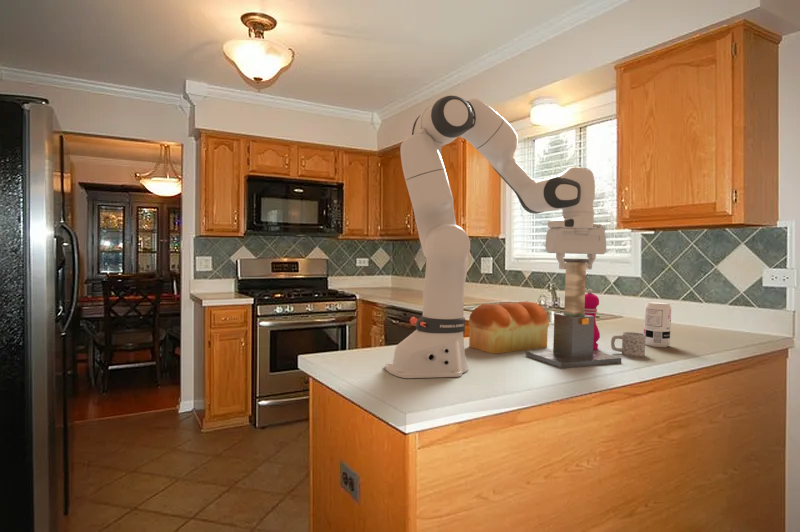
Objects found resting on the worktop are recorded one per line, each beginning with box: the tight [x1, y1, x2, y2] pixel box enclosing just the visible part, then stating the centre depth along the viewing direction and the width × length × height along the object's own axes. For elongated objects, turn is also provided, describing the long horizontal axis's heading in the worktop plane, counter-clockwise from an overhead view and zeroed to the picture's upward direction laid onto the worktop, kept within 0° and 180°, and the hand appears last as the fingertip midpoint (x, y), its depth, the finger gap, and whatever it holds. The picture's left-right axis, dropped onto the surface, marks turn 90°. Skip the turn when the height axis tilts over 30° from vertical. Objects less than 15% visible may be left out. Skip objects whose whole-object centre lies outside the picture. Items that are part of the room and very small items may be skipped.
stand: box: [525, 312, 622, 369], centre depth 148 cm, size 22×16×14 cm
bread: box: [467, 301, 550, 355], centre depth 165 cm, size 25×12×15 cm, turn 122°
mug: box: [610, 331, 646, 358], centre depth 158 cm, size 10×7×7 cm
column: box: [563, 258, 589, 316], centre depth 148 cm, size 5×5×21 cm
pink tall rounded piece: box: [584, 288, 601, 351], centre depth 165 cm, size 7×7×20 cm
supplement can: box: [643, 301, 672, 348], centre depth 173 cm, size 8×8×15 cm
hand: (575, 269), depth 147 cm, fingers open, 8 cm apart
